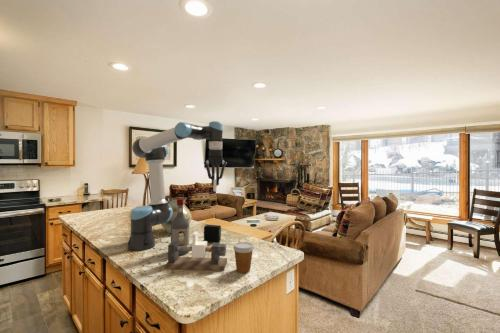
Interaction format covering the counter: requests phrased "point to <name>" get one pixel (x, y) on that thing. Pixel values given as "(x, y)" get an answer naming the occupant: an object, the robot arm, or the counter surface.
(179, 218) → the liquor
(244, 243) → the disposable coffee cup
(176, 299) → the counter surface
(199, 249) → the white l-shaped block
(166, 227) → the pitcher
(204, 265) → the rail stand
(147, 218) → the robot arm
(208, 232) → the electronic device
